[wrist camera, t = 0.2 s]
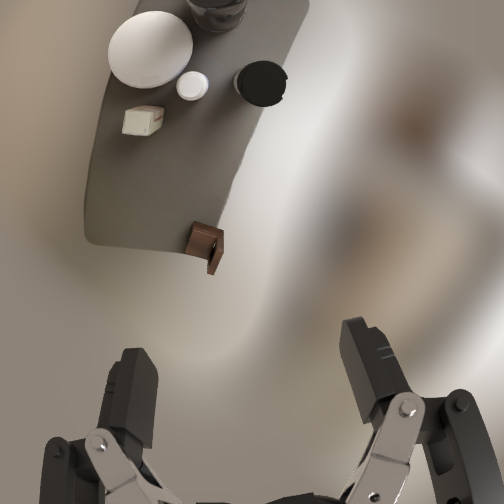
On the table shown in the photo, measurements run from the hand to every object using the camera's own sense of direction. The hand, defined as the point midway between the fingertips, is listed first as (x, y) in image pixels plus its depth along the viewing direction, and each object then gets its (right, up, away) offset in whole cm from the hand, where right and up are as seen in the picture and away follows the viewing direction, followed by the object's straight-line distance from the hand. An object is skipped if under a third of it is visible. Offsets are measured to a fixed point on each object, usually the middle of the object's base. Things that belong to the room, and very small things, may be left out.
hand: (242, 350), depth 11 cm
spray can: (0, +36, +38) cm, 53 cm away
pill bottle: (-10, +36, +38) cm, 53 cm away
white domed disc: (-17, +38, +26) cm, 49 cm away
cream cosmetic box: (-20, +31, +40) cm, 54 cm away
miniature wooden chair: (-11, +7, +56) cm, 58 cm away
